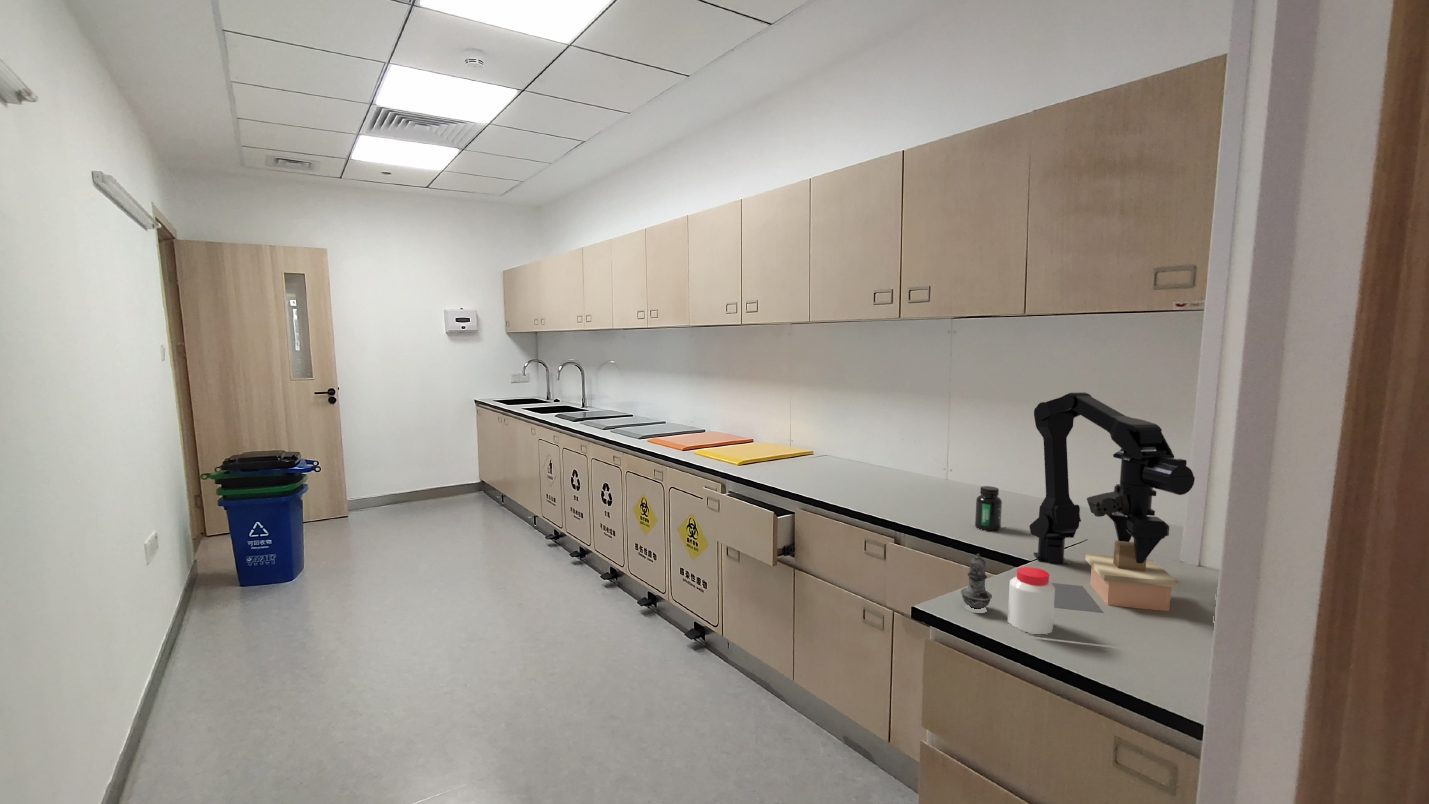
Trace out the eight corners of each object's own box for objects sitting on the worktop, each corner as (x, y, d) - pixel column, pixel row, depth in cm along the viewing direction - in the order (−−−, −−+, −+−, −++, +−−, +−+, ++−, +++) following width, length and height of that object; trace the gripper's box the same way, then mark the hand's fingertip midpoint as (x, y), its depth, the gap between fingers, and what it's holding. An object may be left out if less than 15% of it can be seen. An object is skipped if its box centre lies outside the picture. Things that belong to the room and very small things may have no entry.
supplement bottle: (987, 533, 175) (989, 491, 174) (969, 526, 182) (971, 486, 180) (1005, 530, 178) (1008, 489, 177) (987, 523, 184) (989, 484, 183)
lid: (1085, 558, 139) (1086, 532, 138) (1151, 564, 135) (1153, 537, 134) (1104, 580, 126) (1106, 551, 126) (1178, 587, 123) (1180, 557, 122)
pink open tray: (1090, 587, 138) (1091, 561, 137) (1146, 592, 135) (1148, 566, 134) (1107, 607, 127) (1109, 579, 127) (1169, 614, 124) (1171, 585, 124)
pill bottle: (1038, 617, 122) (1041, 564, 121) (1061, 636, 114) (1065, 579, 113) (999, 618, 122) (1002, 564, 121) (1020, 637, 114) (1023, 579, 113)
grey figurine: (965, 601, 129) (967, 546, 128) (994, 609, 126) (997, 552, 124) (955, 611, 125) (958, 553, 124) (986, 619, 121) (989, 560, 120)
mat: (1013, 580, 141) (1013, 579, 140) (1082, 587, 137) (1082, 585, 137) (1026, 606, 127) (1027, 604, 127) (1103, 614, 123) (1103, 612, 123)
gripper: (1079, 471, 140) (1075, 538, 141) (1107, 490, 122) (1102, 567, 123) (1135, 474, 137) (1130, 542, 138) (1173, 494, 119) (1167, 573, 120)
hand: (1130, 555), depth 130 cm, fingers open, 9 cm apart
